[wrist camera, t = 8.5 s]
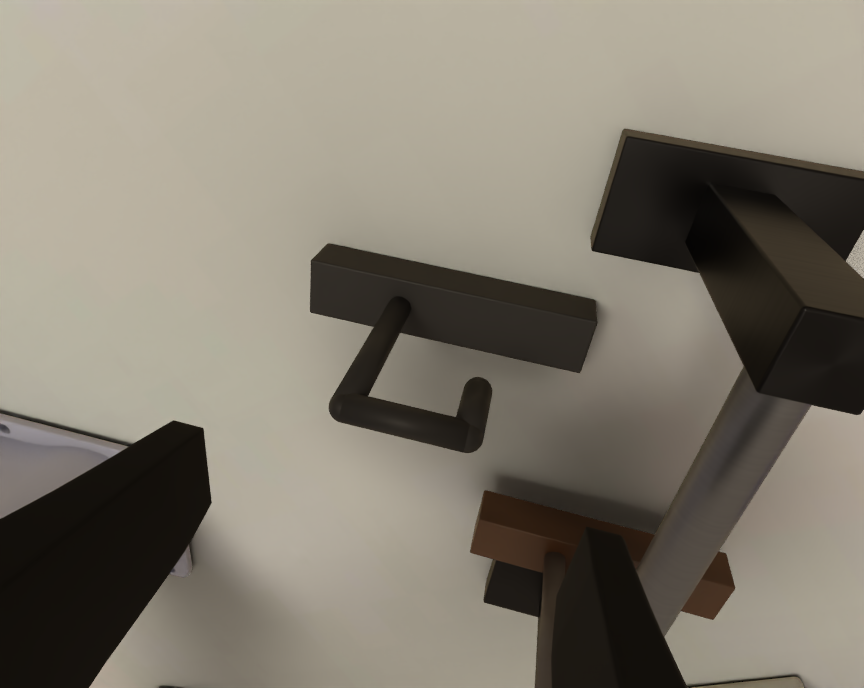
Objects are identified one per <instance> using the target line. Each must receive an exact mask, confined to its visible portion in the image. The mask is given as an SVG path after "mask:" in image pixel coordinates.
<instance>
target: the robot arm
mask: <svg viewBox="0 0 864 688" xmlns="http://www.w3.org/2000/svg"><path fill="white" fill-rule="evenodd" d="M211 503H212V502H211V493H210V484H209V475H208V466H207V457H206V448H205V439H204V430H203V428H201V427H197V426H193V425H189V424H185V423H181V422H177V421H172V422H170V423H168V424H166V425H165V426H163V427H161V428H159V429H158V430H156V431H154V432H153V433H151V434H149V435H148V436H146V437H144V438H142V439H141V440H139V441H137V442H136V443H134V444H132V445H131V446H129V447H128V446H124V445H121V444H117V443H113V442H109V441H105V440H101V439H97V438H94V437H90V436H86V435H82V434H78V433H74V432H70V431H67V430H63V429H59V428H55V427H51V426H47V425H43V424H40V423H36V422H32V421H28V420H24V419H20V418H16V417H13V416H9V415H5V414H1V413H0V688H89V687H90V685H91V684H92V682H93V681H94V679H95V678H96V676H97V675H98V673H99V672H100V670H101V669H102V667H103V666H104V664H105V663H106V661H107V660H108V659H109V657H110V656H111V654H112V653H113V652H114V650H115V649H116V647H117V646H118V645H119V643H120V642H121V640H122V639H123V638H124V636H125V635H126V634H127V632H128V631H129V629H130V628H131V627H132V625H133V624H134V622H135V621H136V620H137V618H138V617H139V615H140V614H141V613H142V611H143V610H144V608H145V607H146V606H147V604H148V603H149V602H150V600H151V599H152V597H153V596H154V595H155V593H156V592H157V590H158V589H159V588H160V586H161V585H162V583H163V582H164V581H165V579H166V578H167V576H168V575H169V574H172V575H175V576H179V577H188V576H189V574H190V573H191V571H192V569H193V567H192V561H191V554H190V548H189V543H190V541H191V540H192V538H193V536H194V534H195V533H196V531H197V529H198V527H199V525H200V523H201V522H202V520H203V518H204V516H205V514H206V512H207V510H208V508H209V507H210V505H211ZM551 672H552V688H687V686H686V684H685V682H684V679H683V677H682V675H681V673H680V671H679V669H678V666H677V664H676V662H675V660H674V658H673V656H672V653H671V651H670V649H669V647H668V645H667V643H666V640H665V638H664V636H663V634H662V631H661V629H660V627H659V625H658V622H657V620H656V618H655V615H654V613H653V611H652V608H651V606H650V603H649V601H648V599H647V596H646V594H645V591H644V589H643V586H642V584H641V581H640V579H639V576H638V574H637V571H636V568H635V566H634V563H633V561H632V558H631V555H630V553H629V550H628V547H627V544H626V542H625V540H624V539H623V537H622V536H621V535H618V534H614V533H610V532H607V531H603V530H599V529H595V528H591V527H587V526H586V528H585V530H584V533H583V535H582V537H581V540H580V542H579V544H578V547H577V549H576V551H575V554H574V556H573V558H572V561H571V563H570V565H569V568H568V570H567V572H566V575H565V577H564V579H563V582H562V584H561V586H560V589H559V591H558V593H557V596H556V605H555V616H554V627H553V640H552V652H551Z"/></svg>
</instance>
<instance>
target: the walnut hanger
mask: <svg viewBox="0 0 864 688" xmlns="http://www.w3.org/2000/svg"><path fill="white" fill-rule="evenodd" d="M586 526H587V527H591V528H595V529H599V530H603V531H607V532H610V533H614V534H618V535H621V536H622V537H623V539H624V540H625V542H626V544H627V547H628V550H629V553H630V555H631V558H632V561H633V563H634V566H635V568H636V569H637V567H638V566H639V564H640V562H641V560H642V558H643V556H644V554H645V552H646V550H647V549H648V547H649V545H650V543H651V541H652V539H653V537H654V534H650V533H647V532H643V531H639V530H635V529H631V528H628V527H624V526H620V525H616V524H612V523H609V522H605V521H601V520H597V519H593V518H589V517H586V516H582V515H578V514H574V513H570V512H567V511H563V510H559V509H555V508H551V507H548V506H544V505H540V504H536V503H532V502H529V501H525V500H521V499H517V498H513V497H510V496H506V495H502V494H498V493H494V492H491V491H487V490H485V491H484V494H483V497H482V501H481V505H480V509H479V513H478V516H477V520H476V524H475V529H474V534H473V539H472V544H471V550H470V553H473V554H476V555H480V556H484V557H487V558H491V559H494V560H498V561H502V562H505V563H509V564H513V565H516V566H520V567H523V568H527V569H531V570H534V571H538V572H541V573H543V586H542V602H541V618H540V633H539V649H538V665H537V681H536V688H552V672H551V652H552V640H553V627H554V616H555V605H556V596H557V593H558V591H559V589H560V586H561V584H562V582H563V579H564V577H565V575H566V572H567V570H568V568H569V565H570V563H571V561H572V558H573V556H574V554H575V551H576V549H577V547H578V544H579V542H580V540H581V537H582V535H583V533H584V530H585V528H586ZM734 590H735V585H734V581H733V577H732V574H731V570H730V566H729V562H728V558H727V555H726V553H723V552H719V551H718V553H717V555H716V556H715V558H714V559H713V561H712V562H711V564H710V566H709V567H708V569H707V570H706V572H705V573H704V575H703V577H702V578H701V580H700V581H699V583H698V584H697V586H696V588H695V589H694V591H693V592H692V594H691V595H690V597H689V599H688V600H687V602H686V603H685V605H684V606H683V608H682V610H681V611H683V612H686V613H690V614H693V615H697V616H701V617H704V618H708V619H712V620H713V619H714V618H715V617H716V615H717V614H718V613H719V611H720V610H721V608H722V607H723V605H724V604H725V603H726V601H727V600H728V598H729V597H730V595H731V594H732V593H733V591H734Z"/></svg>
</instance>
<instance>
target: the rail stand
mask: <svg viewBox="0 0 864 688" xmlns="http://www.w3.org/2000/svg"><path fill="white" fill-rule="evenodd" d="M863 230H864V172H863V171H857V170H852V169H846V168H841V167H835V166H830V165H824V164H818V163H813V162H807V161H802V160H796V159H791V158H785V157H780V156H774V155H769V154H763V153H757V152H752V151H746V150H741V149H735V148H730V147H724V146H719V145H713V144H708V143H702V142H696V141H691V140H685V139H680V138H674V137H669V136H663V135H658V134H652V133H647V132H641V131H635V130H630V129H624V130H623V131H622V135H621V138H620V141H619V144H618V148H617V151H616V154H615V158H614V161H613V164H612V168H611V171H610V174H609V178H608V181H607V184H606V187H605V191H604V194H603V197H602V201H601V204H600V207H599V211H598V214H597V217H596V220H595V224H594V227H593V230H592V234H591V248H592V251H595V252H599V253H604V254H609V255H614V256H619V257H624V258H629V259H634V260H639V261H644V262H649V263H654V264H659V265H663V266H668V267H673V268H678V269H683V270H688V271H693V272H698V273H700V275H701V277H702V279H703V281H704V284H705V286H706V288H707V290H708V292H709V294H710V296H711V298H712V300H713V302H714V304H715V307H716V309H717V311H718V313H719V315H720V317H721V319H722V321H723V323H724V325H725V328H726V330H727V332H728V334H729V336H730V338H731V340H732V342H733V344H734V346H735V349H736V351H737V353H738V355H739V357H740V359H741V361H742V363H743V365H744V367H743V369H742V370H741V372H740V374H739V376H738V378H737V380H736V382H735V384H734V386H733V388H732V389H731V391H730V393H729V395H728V397H727V399H726V401H725V403H724V405H723V406H722V408H721V410H720V412H719V414H718V416H717V418H716V420H715V422H714V423H713V425H712V427H711V429H710V431H709V433H708V435H707V437H706V439H705V441H704V442H703V444H702V446H701V448H700V450H699V452H698V454H697V456H696V458H695V459H694V461H693V463H692V465H691V467H690V469H689V471H688V473H687V475H686V477H685V478H684V480H683V482H682V484H681V486H680V488H679V490H678V492H677V494H676V495H675V497H674V499H673V501H672V503H671V505H670V507H669V509H668V511H667V513H666V514H665V516H664V518H663V520H662V522H661V524H660V526H659V528H658V530H657V531H656V533H655V535H654V537H653V539H652V541H651V543H650V545H649V547H648V549H647V550H646V552H645V554H644V556H643V558H642V560H641V562H640V564H639V566H638V567H637V569H636V571H637V574H638V576H639V579H640V581H641V584H642V586H643V589H644V591H645V594H646V596H647V599H648V601H649V603H650V606H651V608H652V611H653V613H654V615H655V618H656V620H657V622H658V625H659V627H660V629H661V631H662V634H663V636H665V635H666V633H667V632H668V630H669V628H670V627H671V625H672V624H673V622H674V621H675V619H676V617H677V616H678V614H679V613H680V611H681V610H682V608H683V606H684V605H685V603H686V602H687V600H688V599H689V597H690V595H691V594H692V592H693V591H694V589H695V588H696V586H697V584H698V583H699V581H700V580H701V578H702V577H703V575H704V573H705V572H706V570H707V569H708V567H709V566H710V564H711V562H712V561H713V559H714V558H715V556H716V555H717V553H718V551H719V550H720V548H721V547H722V545H723V544H724V542H725V540H726V539H727V537H728V536H729V534H730V533H731V531H732V529H733V528H734V526H735V525H736V523H737V522H738V520H739V518H740V517H741V515H742V514H743V512H744V511H745V509H746V507H747V506H748V504H749V503H750V501H751V500H752V498H753V496H754V495H755V493H756V492H757V490H758V489H759V487H760V485H761V484H762V482H763V481H764V479H765V478H766V476H767V474H768V473H769V471H770V470H771V468H772V467H773V465H774V463H775V462H776V460H777V459H778V457H779V456H780V454H781V452H782V451H783V449H784V448H785V446H786V445H787V443H788V441H789V440H790V438H791V437H792V435H793V434H794V432H795V430H796V429H797V427H798V426H799V424H800V423H801V421H802V419H803V418H804V416H805V415H806V413H807V412H808V410H809V408H810V407H811V405H814V406H818V407H823V408H827V409H832V410H836V411H841V412H845V413H850V414H854V415H859V414H861V413H862V411H863V410H864V278H862V277H861V276H860V275H859V274H858V273H857V272H856V271H855V270H854V269H853V268H852V267H851V266H850V265H849V264H848V263H847V262H846V259H847V258H848V256H849V254H850V252H851V251H852V249H853V247H854V245H855V244H856V242H857V240H858V239H859V237H860V235H861V233H862V232H863ZM542 586H543V573H541V572H538V571H534V570H531V569H527V568H523V567H520V566H516V565H513V564H509V563H505V562H502V561H498V560H494V559H493V561H492V564H491V568H490V571H489V574H488V578H487V581H486V585H485V592H484V599H483V600H484V602H485V603H488V604H491V605H495V606H499V607H503V608H506V609H510V610H514V611H517V612H521V613H525V614H528V615H532V616H536V617H538V635H537V655H536V675H535V688H536V681H537V665H538V649H539V633H540V618H541V602H542Z"/></svg>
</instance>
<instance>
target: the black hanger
mask: <svg viewBox="0 0 864 688" xmlns="http://www.w3.org/2000/svg"><path fill="white" fill-rule="evenodd" d="M310 312H311V313H315V314H319V315H324V316H328V317H333V318H337V319H342V320H346V321H351V322H355V323H359V324H364V325H368V326H373V327H374V328H373V329H372V331H371V333H370V335H369V336H368V338H367V340H366V341H365V343H364V345H363V346H362V348H361V350H360V351H359V353H358V355H357V356H356V358H355V360H354V361H353V363H352V365H351V366H350V368H349V370H348V371H347V373H346V375H345V377H344V378H343V380H342V382H341V383H340V385H339V387H338V388H337V390H336V392H335V393H334V395H333V397H332V398H331V400H330V403H329V412H330V414H331V416H332V417H333V418H334V419H335V420H336V421H338V422H341V423H345V424H349V425H353V426H357V427H362V428H366V429H370V430H374V431H378V432H382V433H386V434H390V435H394V436H398V437H402V438H406V439H411V440H415V441H419V442H423V443H427V444H431V445H435V446H439V447H443V448H447V449H451V450H455V451H460V452H464V453H471V452H474V451H476V450H477V449H479V447H480V446H481V445H482V442H483V438H484V433H485V428H486V423H487V418H488V413H489V408H490V402H491V397H492V387H491V385H490V383H489V382H488V381H487V380H486V379H484V378H481V377H475V378H472V379H470V380H469V381H468V382H467V383H466V384H465V386H464V389H463V393H462V397H461V400H460V404H459V408H458V412H457V415H456V417H453V416H448V415H444V414H440V413H436V412H432V411H427V410H423V409H419V408H415V407H411V406H406V405H402V404H398V403H394V402H390V401H386V400H381V399H377V398H373V397H369V396H368V395H369V393H370V391H371V389H372V387H373V385H374V383H375V381H376V379H377V377H378V375H379V373H380V371H381V369H382V367H383V365H384V363H385V361H386V359H387V357H388V355H389V353H390V351H391V349H392V348H393V346H394V344H395V342H396V340H397V338H398V336H399V334H400V333H404V334H408V335H413V336H417V337H421V338H426V339H430V340H435V341H439V342H444V343H448V344H452V345H457V346H461V347H466V348H470V349H475V350H479V351H483V352H488V353H492V354H497V355H501V356H506V357H510V358H514V359H519V360H523V361H528V362H532V363H537V364H541V365H546V366H550V367H554V368H559V369H563V370H568V371H572V372H577V373H580V372H581V370H582V367H583V364H584V361H585V358H586V355H587V352H588V349H589V346H590V343H591V340H592V337H593V334H594V332H595V329H596V326H597V312H596V301H595V300H592V299H587V298H582V297H578V296H573V295H568V294H563V293H559V292H554V291H549V290H545V289H540V288H535V287H530V286H526V285H521V284H516V283H512V282H507V281H502V280H497V279H493V278H488V277H483V276H479V275H474V274H469V273H464V272H460V271H455V270H450V269H446V268H441V267H436V266H431V265H427V264H422V263H417V262H412V261H408V260H403V259H398V258H394V257H389V256H384V255H379V254H375V253H370V252H365V251H361V250H356V249H351V248H346V247H342V246H337V245H332V244H327V245H326V246H325V247H324V248H323V249H322V250H321V251H320V252H319V253H318V254H317V255H316V256H315V257H314V258H313V259H312V260H311V289H310Z"/></svg>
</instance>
